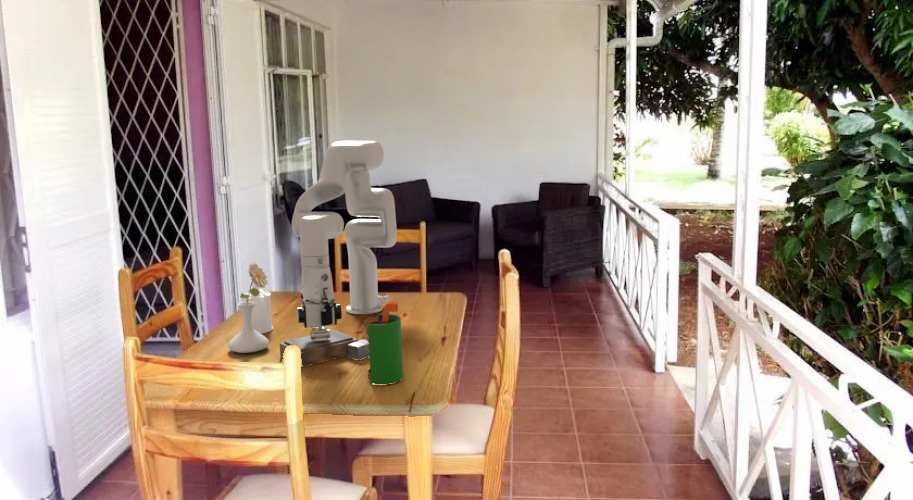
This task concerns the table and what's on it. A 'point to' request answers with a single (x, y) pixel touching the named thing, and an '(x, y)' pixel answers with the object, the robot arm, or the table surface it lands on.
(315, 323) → the pneumatic valve
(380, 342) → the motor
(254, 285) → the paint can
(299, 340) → the stand
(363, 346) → the grey rectangular block
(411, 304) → the table surface
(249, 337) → the flower in vase
